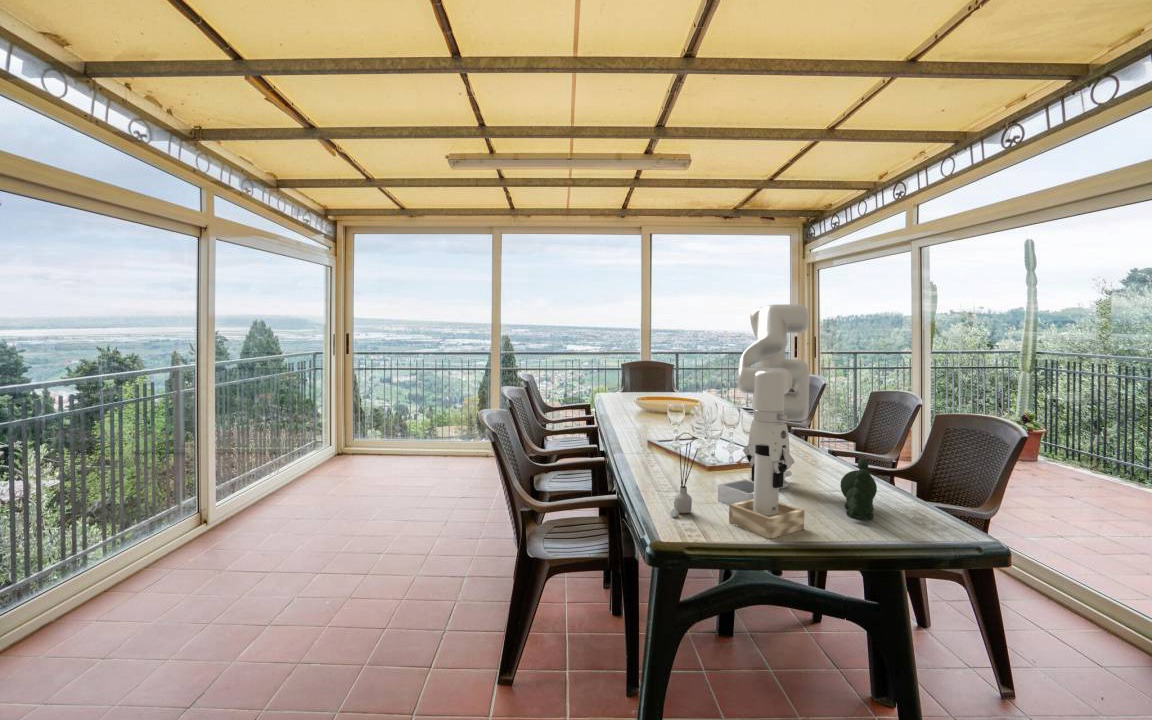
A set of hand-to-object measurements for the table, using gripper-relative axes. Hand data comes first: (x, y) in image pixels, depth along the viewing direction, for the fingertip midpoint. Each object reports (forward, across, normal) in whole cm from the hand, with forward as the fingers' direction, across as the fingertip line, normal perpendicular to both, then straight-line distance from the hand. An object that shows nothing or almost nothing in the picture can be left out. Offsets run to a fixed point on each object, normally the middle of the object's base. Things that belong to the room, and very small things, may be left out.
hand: (766, 483), depth 145 cm
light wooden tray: (+11, 0, 0) cm, 11 cm away
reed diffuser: (+12, +18, +12) cm, 25 cm away
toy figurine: (+12, -7, -31) cm, 34 cm away
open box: (+12, +16, -11) cm, 22 cm away
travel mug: (+9, 0, 0) cm, 9 cm away
